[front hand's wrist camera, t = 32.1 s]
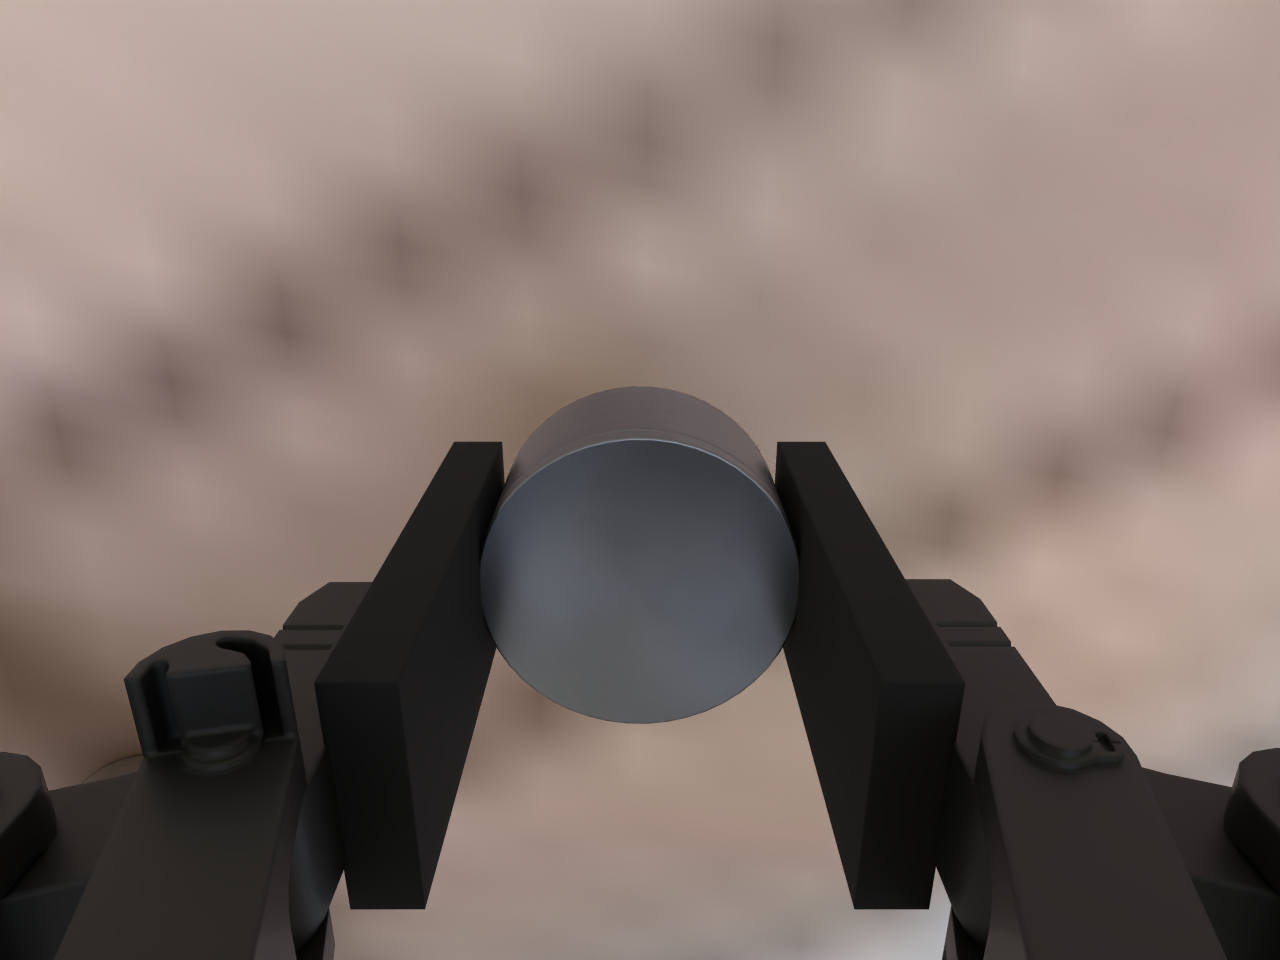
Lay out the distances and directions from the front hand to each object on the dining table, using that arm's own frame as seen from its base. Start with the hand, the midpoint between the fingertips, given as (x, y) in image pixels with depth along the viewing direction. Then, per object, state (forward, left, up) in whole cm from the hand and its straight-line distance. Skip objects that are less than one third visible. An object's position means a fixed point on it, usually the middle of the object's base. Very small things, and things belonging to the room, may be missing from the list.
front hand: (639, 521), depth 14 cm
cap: (0, 0, +2) cm, 2 cm away
